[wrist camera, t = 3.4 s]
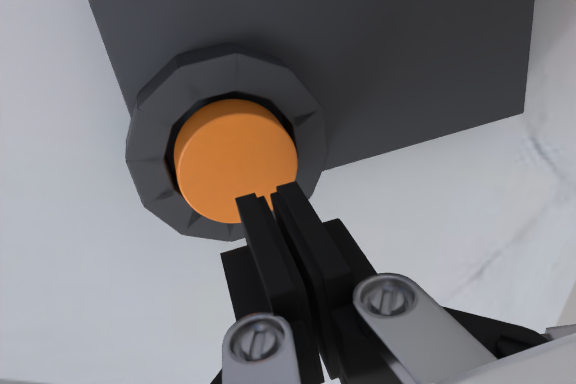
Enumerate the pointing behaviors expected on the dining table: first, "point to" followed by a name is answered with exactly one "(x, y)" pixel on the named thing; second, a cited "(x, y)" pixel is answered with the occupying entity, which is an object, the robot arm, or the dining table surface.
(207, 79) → the scale
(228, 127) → the button
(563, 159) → the dining table surface
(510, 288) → the dining table surface
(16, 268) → the dining table surface
